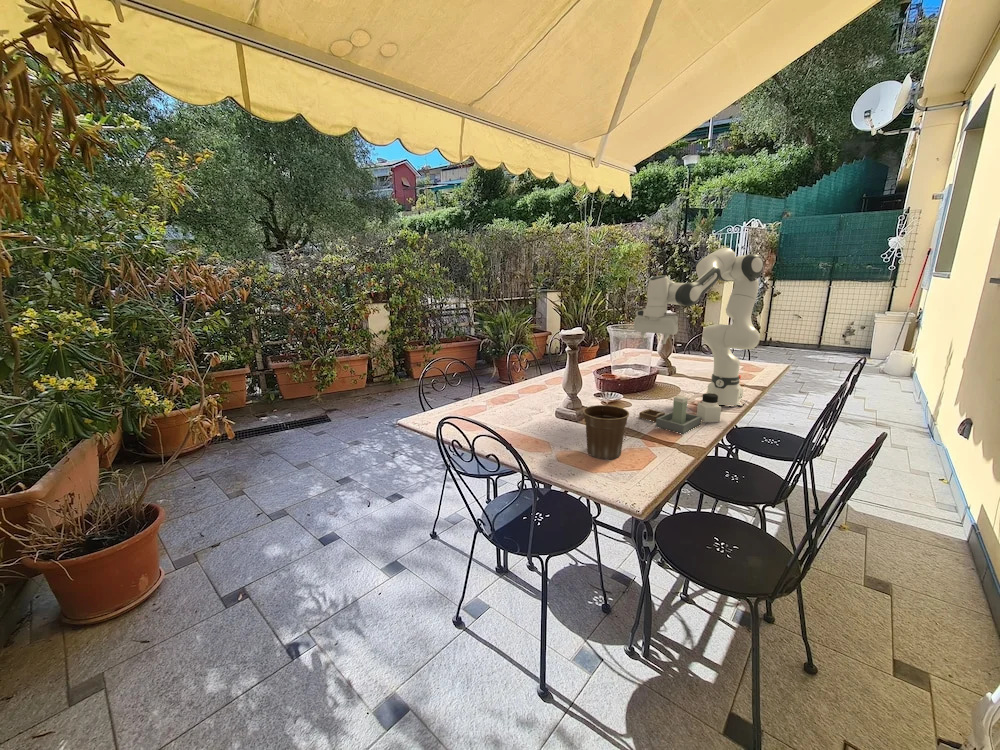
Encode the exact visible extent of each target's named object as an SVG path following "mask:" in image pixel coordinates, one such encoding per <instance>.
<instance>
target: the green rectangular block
mask: <svg viewBox="0 0 1000 750" xmlns="http://www.w3.org/2000/svg"><path fill="white" fill-rule="evenodd" d="M672 404H673V405H672V411H673V414H672V422H675V423H679V424H682V425H683V424H685V421H686V413H687V411H688V410H687V409H688V408H687V407H688V396H683V395H677V396H676V395H675V396H674V397H673V402H672Z"/></svg>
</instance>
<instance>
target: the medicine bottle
mask: <svg viewBox="0 0 1000 750" xmlns="http://www.w3.org/2000/svg"><path fill="white" fill-rule="evenodd" d="M701 400H702V401H699V402H697V408H696V415H697V416H701V417H702V419H701V420H702V421H701V422H703V423H719V422H720V421H721V415H722V414H721V411H722V406H719V405H717V402H718V395H716V394H714V393H707V392H705V393H703V394H702V399H701Z"/></svg>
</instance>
